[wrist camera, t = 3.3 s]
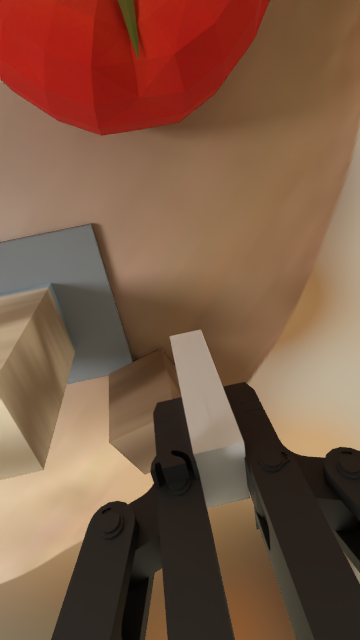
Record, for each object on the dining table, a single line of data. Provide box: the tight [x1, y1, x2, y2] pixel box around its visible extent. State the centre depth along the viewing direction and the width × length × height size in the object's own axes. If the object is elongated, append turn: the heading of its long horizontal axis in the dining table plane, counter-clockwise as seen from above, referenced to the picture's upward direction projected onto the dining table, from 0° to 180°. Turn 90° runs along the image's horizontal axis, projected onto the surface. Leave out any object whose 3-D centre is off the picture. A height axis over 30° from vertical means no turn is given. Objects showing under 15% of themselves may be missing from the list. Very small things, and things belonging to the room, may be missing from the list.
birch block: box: [0, 283, 76, 480], centre depth 17 cm, size 5×5×10 cm
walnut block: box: [109, 348, 182, 474], centre depth 23 cm, size 4×4×6 cm
